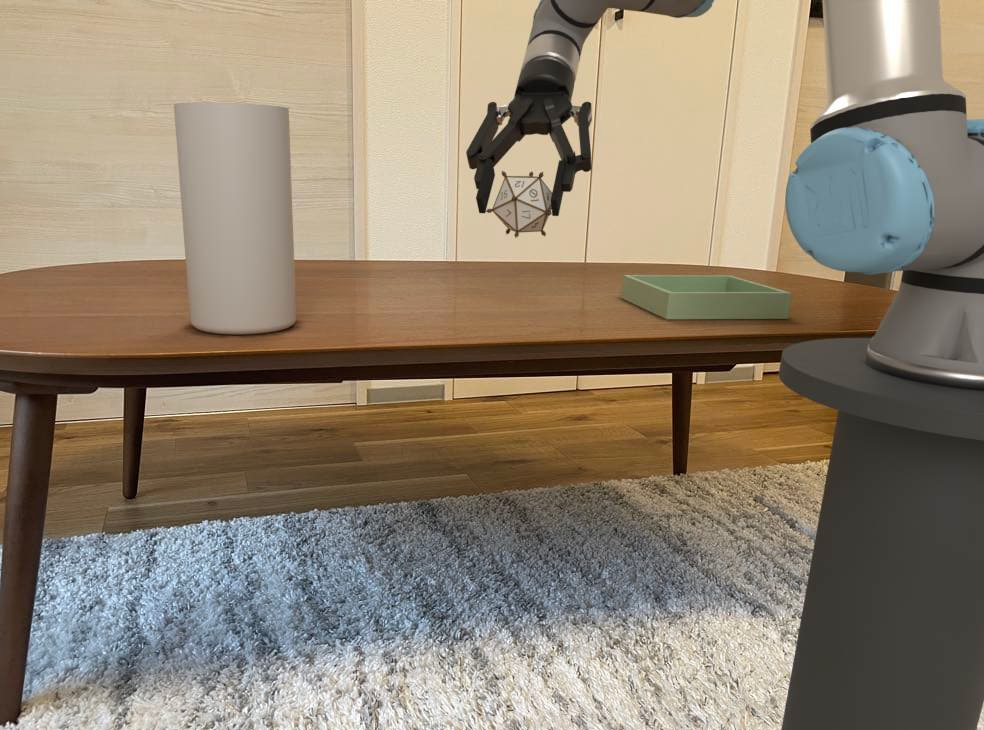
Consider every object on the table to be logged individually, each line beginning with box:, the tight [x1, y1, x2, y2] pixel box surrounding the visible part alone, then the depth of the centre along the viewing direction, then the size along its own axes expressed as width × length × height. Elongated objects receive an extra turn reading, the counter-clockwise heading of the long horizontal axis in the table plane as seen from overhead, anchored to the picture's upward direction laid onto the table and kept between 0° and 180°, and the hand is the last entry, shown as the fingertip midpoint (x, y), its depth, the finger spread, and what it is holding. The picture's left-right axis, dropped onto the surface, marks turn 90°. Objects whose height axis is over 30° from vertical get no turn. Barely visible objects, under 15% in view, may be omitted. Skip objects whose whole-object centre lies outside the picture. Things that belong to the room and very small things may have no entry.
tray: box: [621, 274, 793, 320], centre depth 113 cm, size 18×18×4 cm
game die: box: [485, 170, 553, 239], centre depth 97 cm, size 9×8×10 cm
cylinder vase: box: [173, 101, 297, 336], centre depth 91 cm, size 12×12×25 cm
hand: (517, 206), depth 95 cm, fingers closed on game die, 8 cm apart
